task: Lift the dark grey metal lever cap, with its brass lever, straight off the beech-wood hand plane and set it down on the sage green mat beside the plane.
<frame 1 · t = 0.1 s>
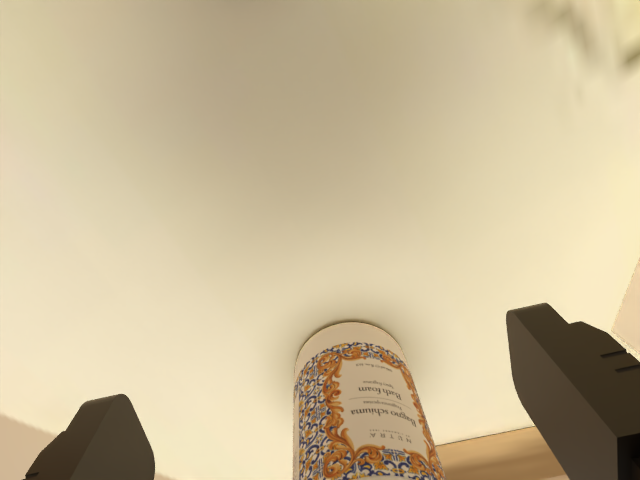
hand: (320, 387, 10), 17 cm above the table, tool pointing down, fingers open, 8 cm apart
bath foam: (349, 363, 31), on the table
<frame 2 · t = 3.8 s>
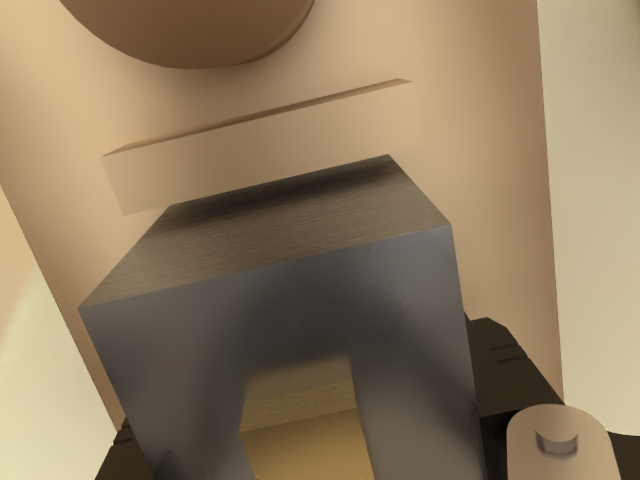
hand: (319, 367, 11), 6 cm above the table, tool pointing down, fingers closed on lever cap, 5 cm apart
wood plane: (314, 266, 16), on the table
lever cap: (318, 329, 12), point 4 cm above the table, touching gripper, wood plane
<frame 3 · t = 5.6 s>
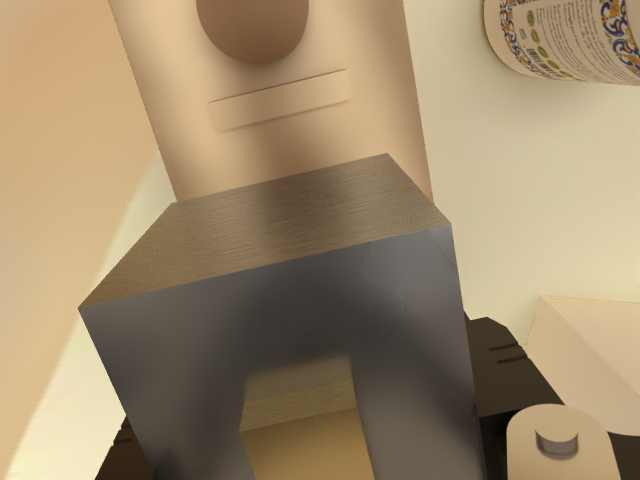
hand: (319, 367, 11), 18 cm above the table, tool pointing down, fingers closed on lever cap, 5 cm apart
bath foam: (545, 5, 25), on the table
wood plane: (305, 181, 28), on the table
milk: (598, 380, 33), on the table
lever cap: (318, 329, 12), point 16 cm above the table, touching gripper
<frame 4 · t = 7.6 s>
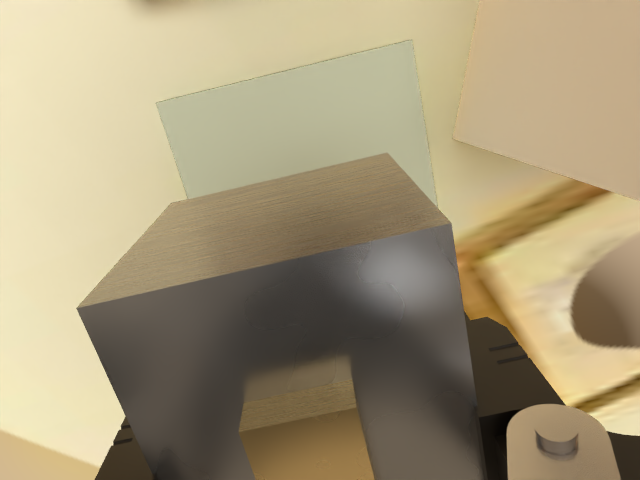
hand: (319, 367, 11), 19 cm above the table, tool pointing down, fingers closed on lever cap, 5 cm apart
mat: (308, 176, 29), on the table
milk: (575, 39, 27), on the table
lever cap: (318, 329, 12), point 18 cm above the table, touching gripper
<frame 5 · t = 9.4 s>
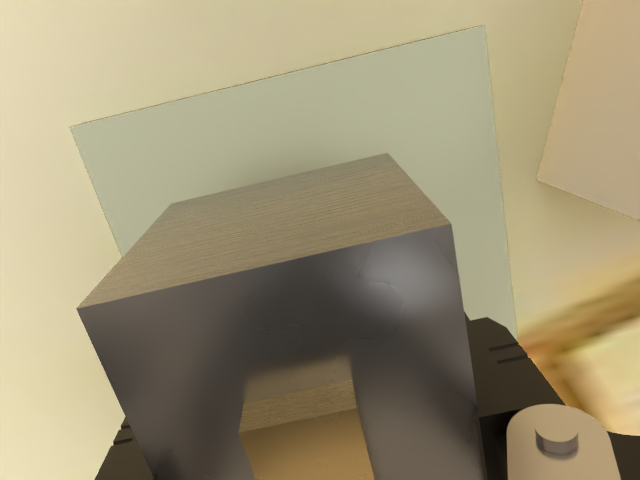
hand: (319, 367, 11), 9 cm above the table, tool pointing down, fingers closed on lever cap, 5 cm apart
mat: (314, 236, 19), on the table
lever cap: (318, 329, 12), point 7 cm above the table, touching gripper
when the fingers open (4 cm above the table, at t = 11.3 s): lever cap drops 1 cm, resting on mat.
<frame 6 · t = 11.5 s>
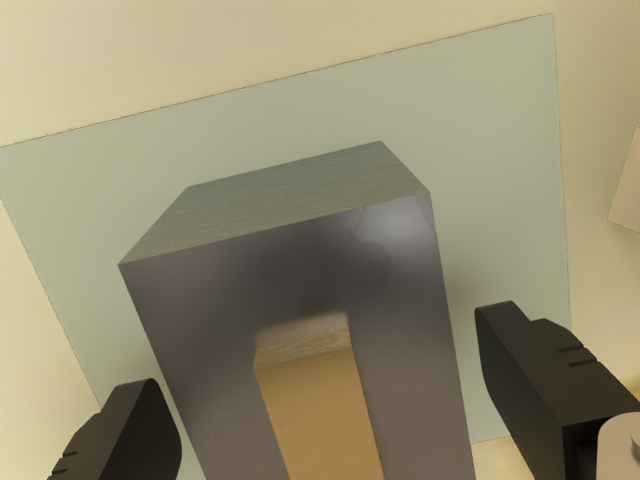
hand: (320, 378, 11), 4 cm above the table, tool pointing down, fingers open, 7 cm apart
mat: (315, 292, 14), on the table
lever cap: (319, 302, 14), point 1 cm above the table, touching mat
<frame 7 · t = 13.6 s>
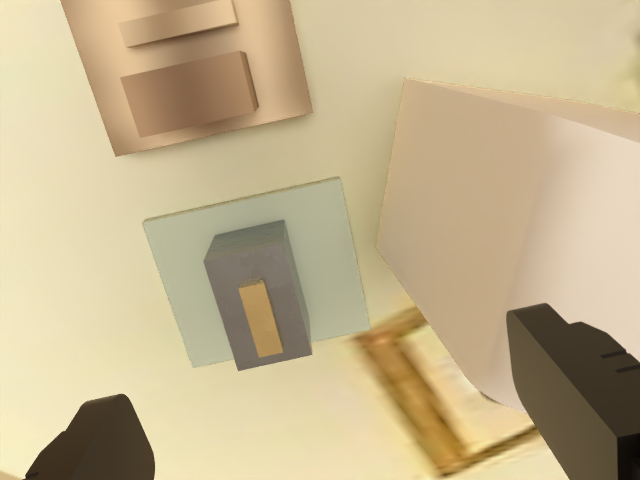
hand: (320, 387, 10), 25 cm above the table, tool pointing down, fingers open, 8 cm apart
mat: (262, 274, 37), on the table
milk: (467, 175, 35), on the table
lever cap: (263, 278, 36), point 1 cm above the table, touching mat
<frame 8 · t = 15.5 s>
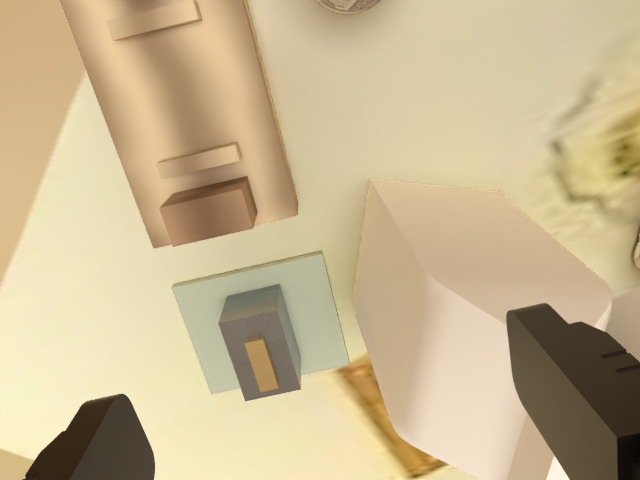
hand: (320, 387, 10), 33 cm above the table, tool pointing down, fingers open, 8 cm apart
mat: (264, 323, 47), on the table
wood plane: (192, 89, 40), on the table
milk: (421, 247, 45), on the table
lever cap: (264, 327, 46), point 1 cm above the table, touching mat
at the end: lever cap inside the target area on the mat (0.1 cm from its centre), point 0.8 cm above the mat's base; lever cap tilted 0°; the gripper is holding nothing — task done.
